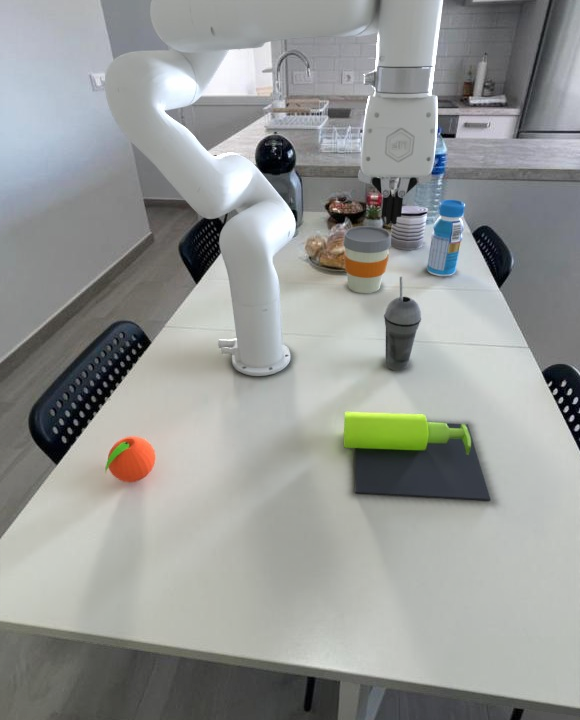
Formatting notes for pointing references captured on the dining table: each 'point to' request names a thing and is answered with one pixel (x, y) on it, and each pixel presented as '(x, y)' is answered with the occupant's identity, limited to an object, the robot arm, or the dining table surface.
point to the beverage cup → (400, 330)
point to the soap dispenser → (398, 431)
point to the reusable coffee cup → (366, 257)
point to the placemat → (422, 471)
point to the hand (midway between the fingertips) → (390, 221)
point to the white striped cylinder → (409, 228)
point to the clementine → (131, 459)
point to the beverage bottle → (446, 238)
